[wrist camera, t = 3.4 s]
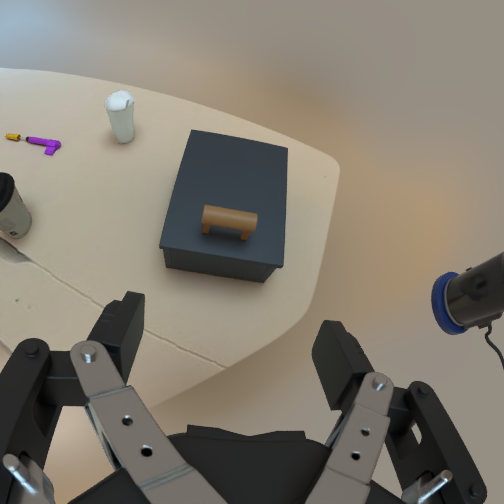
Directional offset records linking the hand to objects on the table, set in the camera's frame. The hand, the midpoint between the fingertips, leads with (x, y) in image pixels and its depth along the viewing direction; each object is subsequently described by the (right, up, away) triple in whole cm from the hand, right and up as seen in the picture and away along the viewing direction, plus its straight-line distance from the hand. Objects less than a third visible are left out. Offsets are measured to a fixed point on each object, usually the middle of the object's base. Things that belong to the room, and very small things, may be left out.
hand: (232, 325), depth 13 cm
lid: (-2, +10, +21) cm, 23 cm away
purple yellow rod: (-40, +22, +27) cm, 53 cm away
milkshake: (-20, +22, +31) cm, 43 cm away
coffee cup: (-34, +7, +22) cm, 41 cm away
